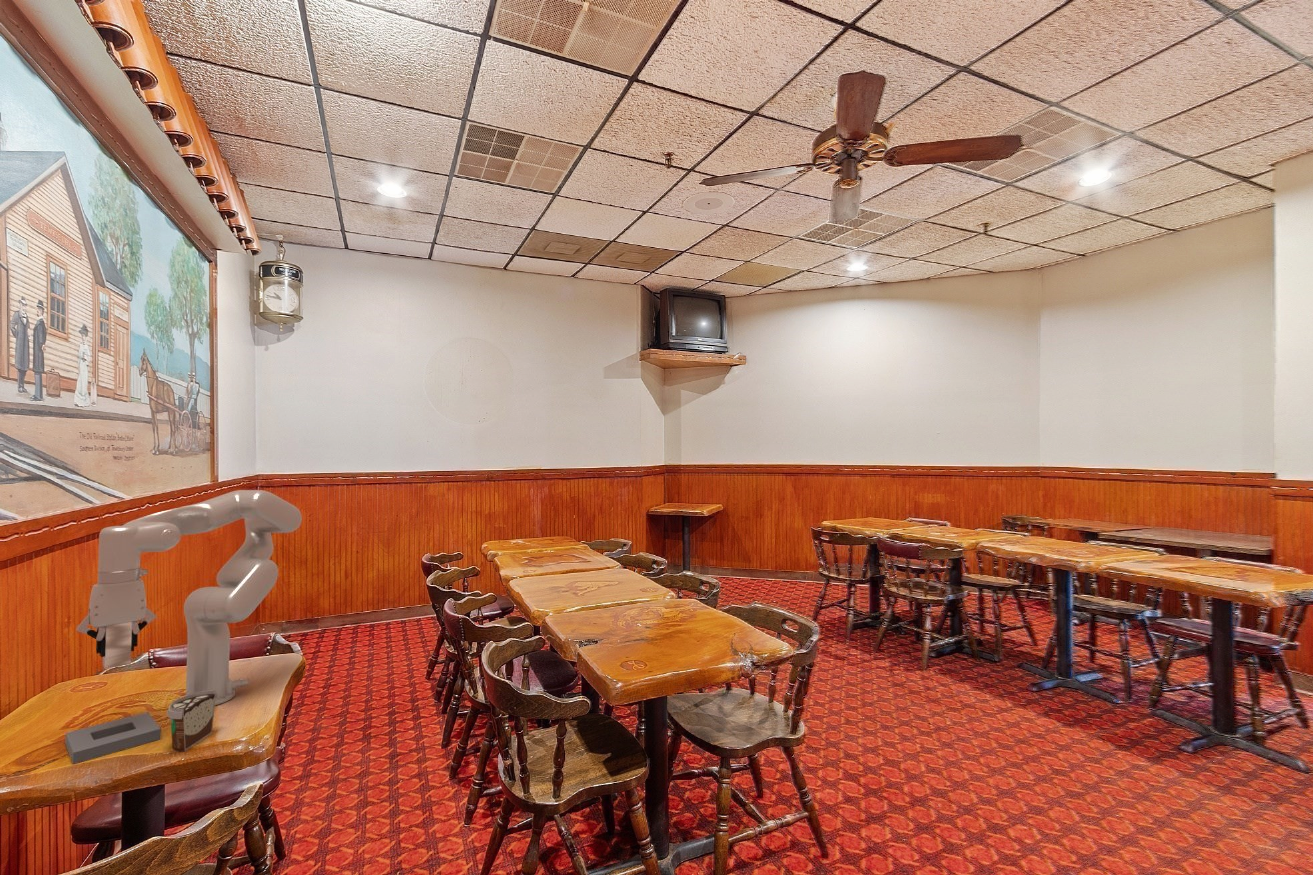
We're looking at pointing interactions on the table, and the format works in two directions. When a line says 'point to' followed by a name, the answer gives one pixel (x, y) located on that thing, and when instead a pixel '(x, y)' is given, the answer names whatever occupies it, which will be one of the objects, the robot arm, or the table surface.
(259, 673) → the table surface
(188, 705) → the food container
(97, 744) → the charcoal pocket board
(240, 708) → the table surface
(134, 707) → the table surface
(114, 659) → the off-white block
